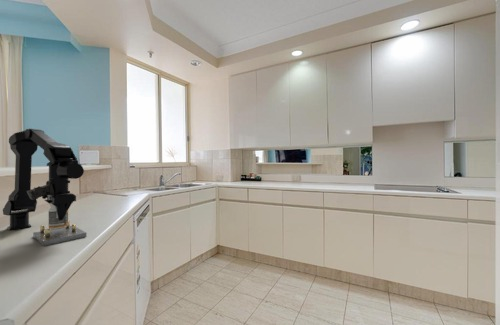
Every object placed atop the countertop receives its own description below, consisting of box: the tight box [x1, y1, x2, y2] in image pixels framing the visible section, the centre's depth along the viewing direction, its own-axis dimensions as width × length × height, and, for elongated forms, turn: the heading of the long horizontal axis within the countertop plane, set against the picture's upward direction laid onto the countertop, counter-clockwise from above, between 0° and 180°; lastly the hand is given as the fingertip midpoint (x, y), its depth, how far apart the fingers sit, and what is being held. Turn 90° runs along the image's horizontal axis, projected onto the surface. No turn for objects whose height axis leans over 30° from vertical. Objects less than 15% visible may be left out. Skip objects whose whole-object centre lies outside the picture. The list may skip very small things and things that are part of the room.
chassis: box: [32, 220, 87, 247], centre depth 83 cm, size 16×12×4 cm
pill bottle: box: [47, 202, 69, 230], centre depth 84 cm, size 6×6×10 cm
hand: (58, 218), depth 84 cm, fingers closed on pill bottle, 6 cm apart
